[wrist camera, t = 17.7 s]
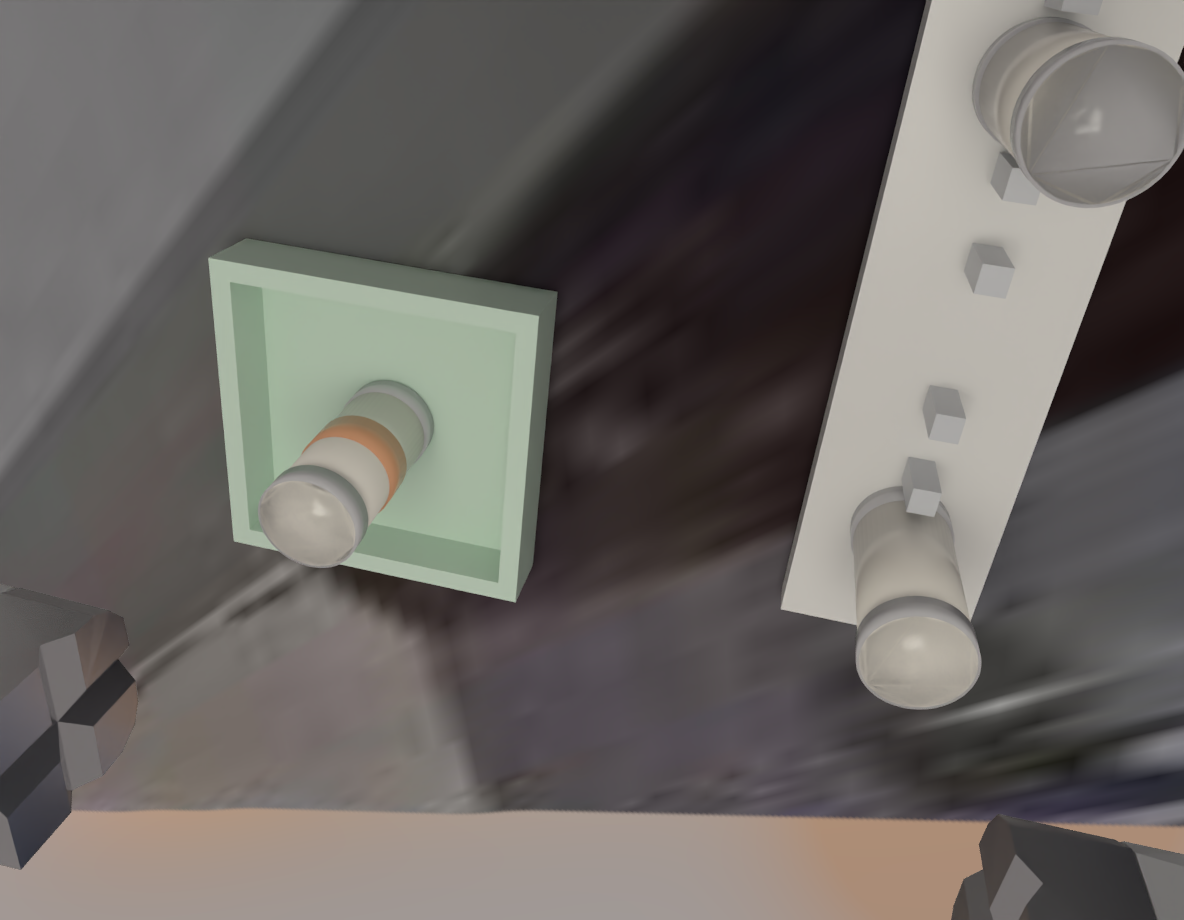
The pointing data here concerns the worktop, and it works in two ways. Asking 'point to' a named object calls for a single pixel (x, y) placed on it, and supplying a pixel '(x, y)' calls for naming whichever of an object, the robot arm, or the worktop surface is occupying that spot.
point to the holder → (955, 310)
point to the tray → (407, 356)
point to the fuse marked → (346, 475)
